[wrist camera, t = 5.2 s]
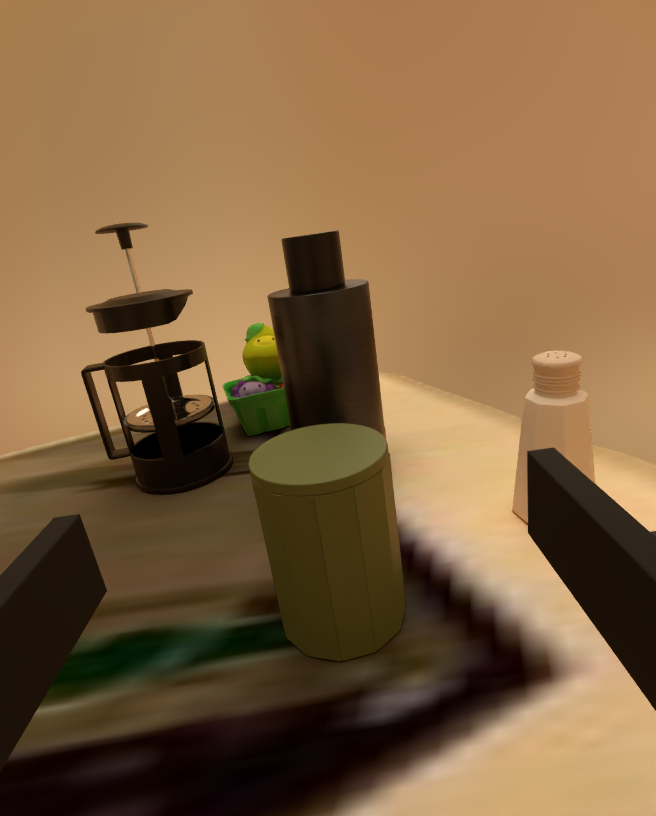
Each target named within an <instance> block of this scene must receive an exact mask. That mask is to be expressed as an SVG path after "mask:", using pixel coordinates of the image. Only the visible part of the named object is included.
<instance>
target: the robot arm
mask: <svg viewBox="0 0 656 816" xmlns="http://www.w3.org/2000/svg"><path fill="white" fill-rule="evenodd" d="M527 491H528V534H529V535H530V536H531V538H532V539H533V541H534V542H535V543H536V545H537V546H538V548H539V549H540V550H541V552H542V553H543V554H544V556H545V557H546V559H547V560H548V561H549V563H550V564H551V566H552V567H553V568H554V570H555V571H556V573H557V574H558V575H559V577H560V578H561V580H562V581H563V582H564V584H565V585H566V587H567V588H568V589H569V591H570V592H571V593H572V595H573V596H574V598H575V599H576V600H577V602H578V603H579V605H580V606H581V607H582V609H583V610H584V612H585V613H586V614H587V616H588V617H589V619H590V620H591V621H592V623H593V624H594V625H595V627H596V628H597V630H598V631H599V632H600V634H601V635H602V637H603V638H604V639H605V641H606V642H607V644H608V645H609V646H610V648H611V649H612V651H613V652H614V653H615V655H616V656H617V657H618V659H619V660H620V662H621V663H622V664H623V666H624V667H625V669H626V670H627V671H628V673H629V674H630V676H631V677H632V678H633V680H634V681H635V683H636V684H637V685H638V687H639V688H640V689H641V691H642V692H643V694H644V695H645V696H646V698H647V699H648V701H649V702H650V703H651V705H652V706H653V708H654V709H655V710H656V531H653V532H649V531H648V530H647V529H646V528H645V527H644V526H642V525H641V524H640V523H639V522H638V521H637V520H636V519H634V518H633V517H632V516H631V515H630V514H629V513H628V512H627V511H625V510H624V509H623V508H622V507H621V506H620V505H619V504H617V503H616V502H615V501H614V500H613V499H612V498H611V497H610V496H608V495H607V494H606V493H605V492H604V491H603V490H602V489H600V488H599V487H598V486H597V485H596V484H595V483H594V482H593V481H591V480H590V479H589V478H588V477H587V476H586V475H585V474H583V473H582V472H581V471H580V470H579V469H578V468H577V467H576V466H574V465H573V464H572V463H571V462H570V461H569V460H568V459H566V458H565V457H564V456H563V455H562V454H561V453H560V452H559V451H557V450H556V449H555V448H554V447H553V448H546V449H538V450H531V451H527ZM106 591H107V589H106V587H105V584H104V581H103V578H102V576H101V573H100V570H99V567H98V564H97V562H96V559H95V556H94V553H93V550H92V548H91V545H90V542H89V539H88V537H87V534H86V531H85V528H84V525H83V523H82V520H81V517H80V514H78V515H71V516H64V517H57V518H54V519H53V520H52V521H51V522H50V523H49V524H48V525H47V526H46V527H45V528H44V529H43V530H42V531H41V532H40V534H39V535H38V536H37V537H36V538H35V539H34V540H33V541H32V542H31V543H30V544H29V545H28V546H27V548H26V549H25V550H24V551H23V552H22V553H21V554H20V555H19V556H18V557H17V558H16V559H15V560H14V562H13V563H12V564H11V565H10V566H9V567H8V568H7V569H6V570H5V571H4V572H3V573H2V574H1V576H0V771H1V770H2V768H3V766H4V764H5V763H6V761H7V759H8V758H9V756H10V754H11V753H12V751H13V749H14V748H15V746H16V744H17V742H18V741H19V739H20V737H21V736H22V734H23V732H24V731H25V729H26V727H27V725H28V724H29V722H30V720H31V719H32V717H33V715H34V714H35V712H36V710H37V708H38V707H39V705H40V703H41V702H42V700H43V698H44V697H45V695H46V693H47V692H48V690H49V688H50V686H51V685H52V683H53V681H54V680H55V678H56V676H57V675H58V673H59V671H60V669H61V668H62V666H63V664H64V663H65V661H66V659H67V658H68V656H69V654H70V652H71V651H72V649H73V647H74V646H75V644H76V642H77V641H78V639H79V637H80V636H81V634H82V632H83V630H84V629H85V627H86V625H87V624H88V622H89V620H90V619H91V617H92V615H93V613H94V612H95V610H96V608H97V607H98V605H99V603H100V602H101V600H102V598H103V596H104V595H105V593H106Z"/></svg>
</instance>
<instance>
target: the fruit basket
mask: <svg viewBox="0 0 656 816" xmlns="http://www.w3.org/2000/svg"><path fill="white" fill-rule="evenodd" d="M245 340H246V341H247V343H246V346H245V348H244V351H243V361H244V364H245V366H246V368H247V369H248V371H249V373H250V374H251V376H246V377H245V378H242V379H239V380H235V381H231V382H228V383H225V384H224V385H223V388H224V390H225V393H226V396H227V399H228V401H229V403H230V405H231V406H233V408H234V410H235V412H236V414H237V416H238V418H239V420H240V422H241V424H242V426H243V428H244V430H245V432H246V434H247V436H252V435H256V434H260V433H263V432H268V431H273V430H277V429H281V428H284V427H286V426H287V427H288V426H291V425H290V419H289V413H288V408H287V402H286V397H285V391H284V385H283V380H282V374H281V369H280V363H279V357H278V352H277V346H276V341H275V335H274V329H273V328H271V327H269V326H266V325H264V324H262V323H256V324H253V325H251V326H250V327H249V328H248V330H247V337H246V339H245Z"/></svg>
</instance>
